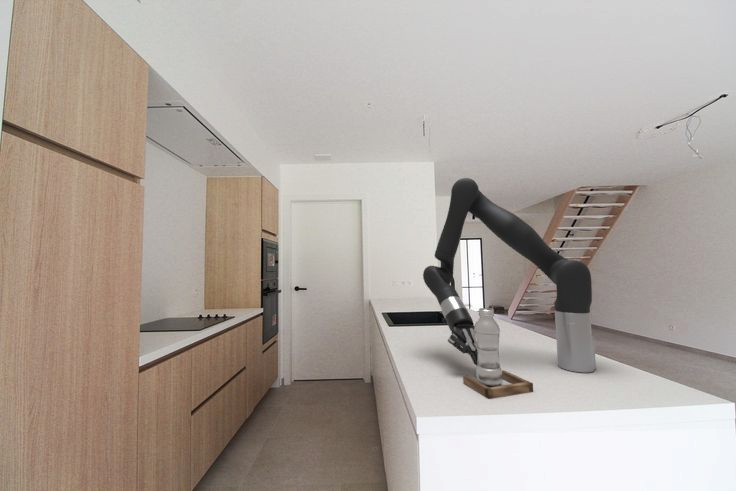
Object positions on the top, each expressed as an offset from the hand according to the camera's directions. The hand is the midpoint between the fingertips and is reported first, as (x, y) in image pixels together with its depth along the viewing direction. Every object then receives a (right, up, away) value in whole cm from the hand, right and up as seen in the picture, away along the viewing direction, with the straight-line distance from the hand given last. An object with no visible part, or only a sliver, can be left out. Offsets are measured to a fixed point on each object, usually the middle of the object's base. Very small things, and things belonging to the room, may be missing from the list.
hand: (481, 365), depth 84 cm
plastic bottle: (+1, -4, -4) cm, 5 cm away
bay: (+2, -4, -5) cm, 6 cm away
